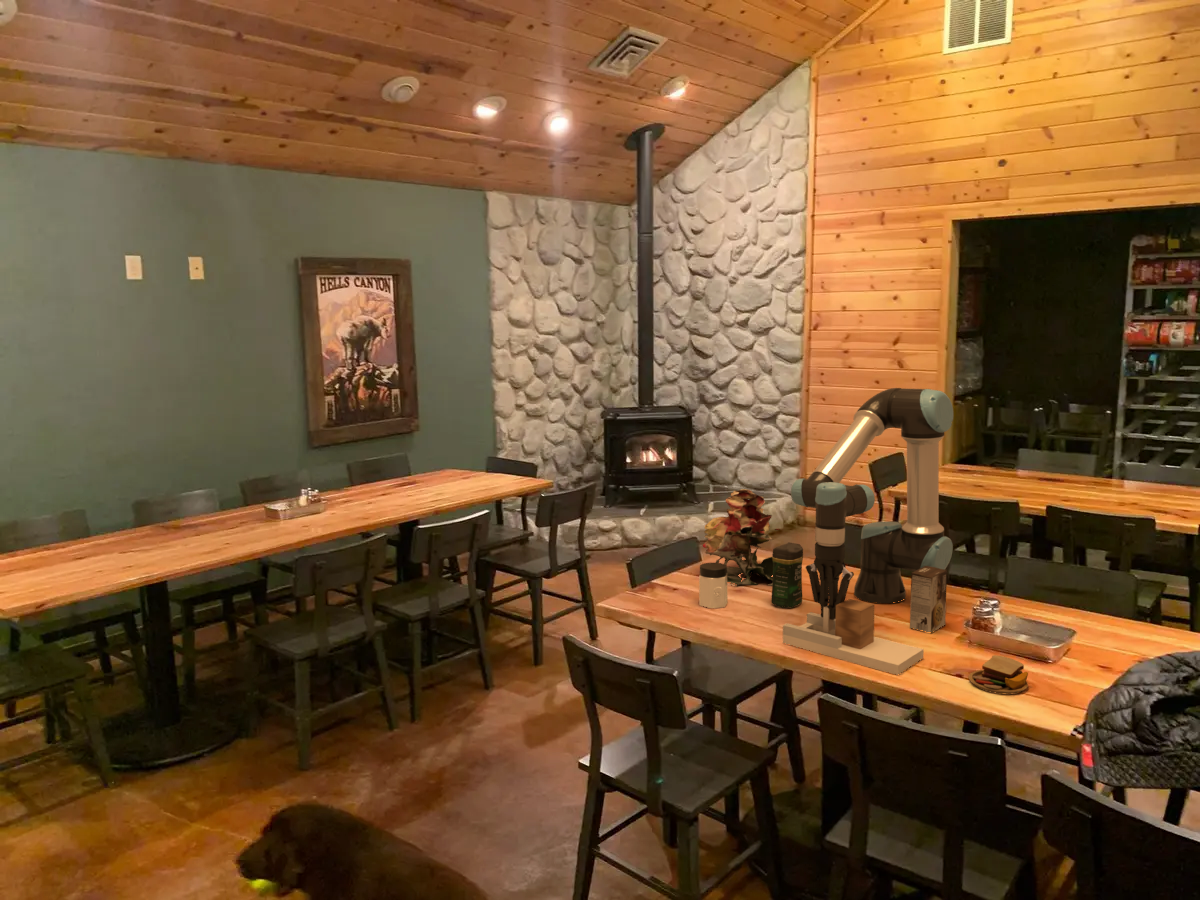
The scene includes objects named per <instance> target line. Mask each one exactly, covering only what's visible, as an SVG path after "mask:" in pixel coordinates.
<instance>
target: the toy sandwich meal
mask: <svg viewBox="0 0 1200 900" xmlns="http://www.w3.org/2000/svg"><path fill="white" fill-rule="evenodd" d="M981 667H982V669H978V670H973V671H972V672H970V673H969V674H968V679H969V681H970V682H971V683H972V684H973V685H974V686H975V685H976V686H975V687H977V688H978V687H979V688H978V689H980V688H981V690H983V689H984V690H983V691H985V690H987V691H986V692H989V691H991V692H990V693H993V692H996V693H995V694H999V693H1016V694H1019V693H1018V692H1020V693H1022V692H1024V690H1026V689H1028V687H1029V684H1028V681H1027V678H1028V676H1029V672H1028V671H1024V672H1023V671H1022V670H1024V667H1025V666H1024V663H1022V662H1020V661H1019V660H1016V659H1014V658H1010V657H1007V656H1003V655H996V654H993V655H992V656H991V658H990V659H988V660H987V661H986V662H984V663H983V664H982V665H981ZM1021 691H1022V692H1021Z"/></svg>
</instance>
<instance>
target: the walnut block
mask: <svg viewBox="0 0 1200 900" xmlns="http://www.w3.org/2000/svg"><path fill="white" fill-rule="evenodd" d="M875 604H876V603H872V602H867V601H863V600H856V599H852V598H848V599H845V601H844V602H842V603H839V604H837V605H836V622H835V636H839V637H842V645H845V646H849V647H853V648H857V649H862V648H864V647H865V646H867V645H869V644H871V643H873V642H874V637H875V636H874V635H875V606H876V605H875Z"/></svg>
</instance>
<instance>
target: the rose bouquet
mask: <svg viewBox="0 0 1200 900" xmlns="http://www.w3.org/2000/svg"><path fill="white" fill-rule="evenodd" d="M725 503H726V504H727V506H729V508H727V509H726V512H727V516H717V517H713V518H712V519H711V520H710V521H708V523H706V524H705V525H704V534H705V535H704V538H705V539H707V541H705V542H704V543H703V544H702V548H705V550H706V551H705V552H704V553H705V554H706V555H710V556H716V557H720V558H718V559H716V561H715V562H714V563H720V560H721V559H724V561H723V562H724V563H723V564H724V565H726V566H727V564H728V563H729V562H730V561H734V562H735V563H736V564H737V566H727V582H731V584H733V583H735V584H734V585H735V586H736V584H737V587H738V586H739V585H747V586H759V582H757V583H756V582H754V581H752V580H751V577H752V575H757V577H761V578H765V579H767V580H770V581H772V583H769V584H767V586H772V584H773V577H771V576H772V575H773V559H772V556H770V557H766V558H763V559H762V561H761V563H760V562H758V557H757V551H758V549H761V548H762V547H761V546H760V545H761V544H764V543H767V542H769V541H773V540H775V539H774V538H772V537H771V536H770V535H769V531H770V528H771V526H770V520H771V519H772V517H773V515H772V514H765V513H764V511H765V509H764V508H762V506H763V505H764V504H765V503H766V501H765V499H764V496H761V495H758V494H756V493H754V492H753V490H752V489H746V488H742V489H739V490H737V489H734V490H733V492H731V493H730V496H729V497H727V498H726V499H725ZM774 531H781V529H780V528H775V529H774ZM751 547H755V548H756V549H755V550H754V551H753V552H752V548H751ZM743 558H744V559H743ZM741 573H743V574H742V575H743V576H742V577H743V578H746V579H744V580H743V581H742V582H741V580H742V578H740V577H739V576H738V575H739V574H741ZM750 573H752V574H750Z"/></svg>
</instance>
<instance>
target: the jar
mask: <svg viewBox="0 0 1200 900" xmlns="http://www.w3.org/2000/svg"><path fill="white" fill-rule="evenodd" d="M727 567H728V566H727V565H724V563H721V562H719V563H715V562H705V563H702V564H700V565H699V576H698V577H699V578H698V584H699V585H698V588H699V589H698V592H699V593H698V599H699V600H698V601H699V602H698V603H699V604H698V605H699V606H700V607H703V606H704V607H703V608H706V607H707V608H706V609H710V608H714V609H720V608H721V609H722V608H723V609H725V608H726V606H727V604H728V584H727Z"/></svg>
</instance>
